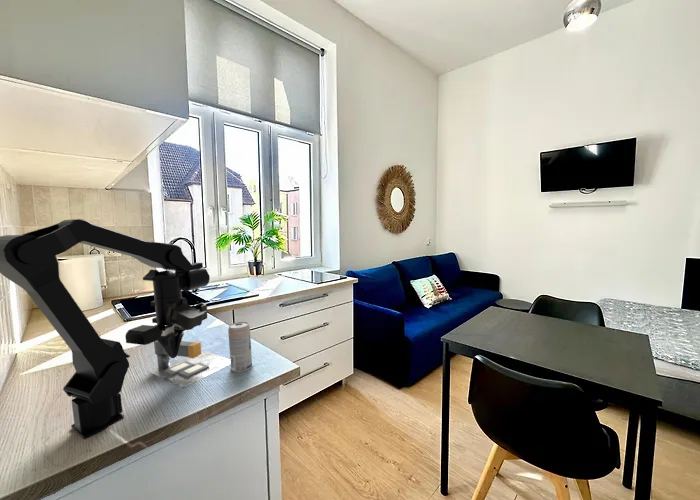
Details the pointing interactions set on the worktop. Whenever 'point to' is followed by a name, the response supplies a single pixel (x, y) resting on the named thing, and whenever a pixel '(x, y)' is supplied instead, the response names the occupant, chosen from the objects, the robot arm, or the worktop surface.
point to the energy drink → (240, 346)
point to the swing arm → (181, 349)
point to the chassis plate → (205, 358)
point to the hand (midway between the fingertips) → (173, 357)
